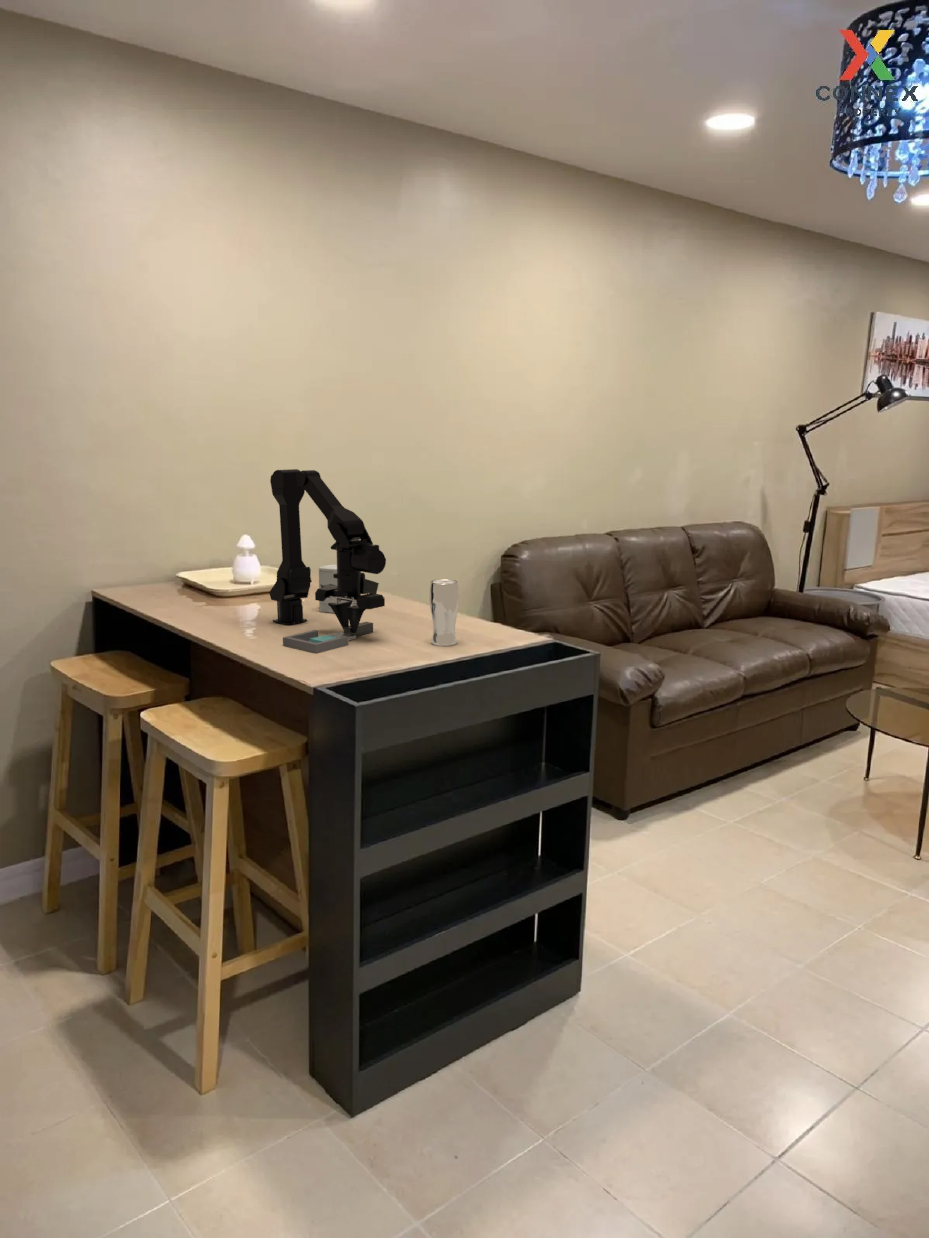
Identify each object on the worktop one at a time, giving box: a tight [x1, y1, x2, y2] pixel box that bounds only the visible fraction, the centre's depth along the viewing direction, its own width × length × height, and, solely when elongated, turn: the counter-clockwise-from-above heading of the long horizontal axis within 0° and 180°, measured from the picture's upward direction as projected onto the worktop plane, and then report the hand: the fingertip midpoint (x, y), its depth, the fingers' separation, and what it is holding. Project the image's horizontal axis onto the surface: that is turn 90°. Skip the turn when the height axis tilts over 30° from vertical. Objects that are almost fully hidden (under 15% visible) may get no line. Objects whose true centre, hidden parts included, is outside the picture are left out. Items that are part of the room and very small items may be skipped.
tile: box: [309, 634, 337, 643], centre depth 215 cm, size 5×5×2 cm
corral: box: [282, 629, 349, 654], centre depth 212 cm, size 11×10×2 cm
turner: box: [326, 621, 374, 641], centre depth 222 cm, size 13×6×2 cm, turn 142°
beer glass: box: [429, 578, 460, 647], centre depth 214 cm, size 7×7×15 cm
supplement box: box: [318, 564, 353, 614], centre depth 250 cm, size 7×7×13 cm
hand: (350, 631), depth 221 cm, fingers closed on turner, 2 cm apart
